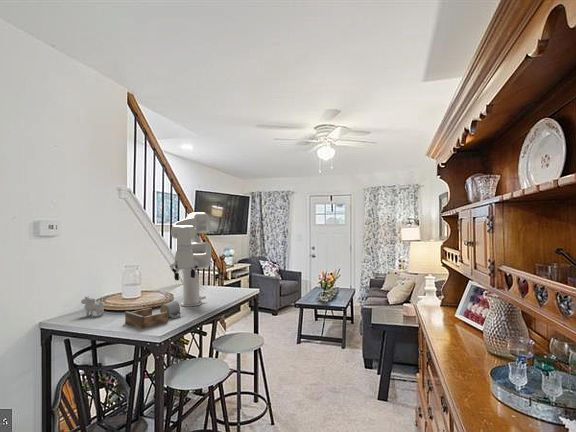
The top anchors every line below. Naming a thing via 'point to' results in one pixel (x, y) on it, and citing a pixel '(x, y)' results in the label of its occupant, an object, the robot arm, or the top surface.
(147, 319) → the open wooden box
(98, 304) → the grey animal figurine
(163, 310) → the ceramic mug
